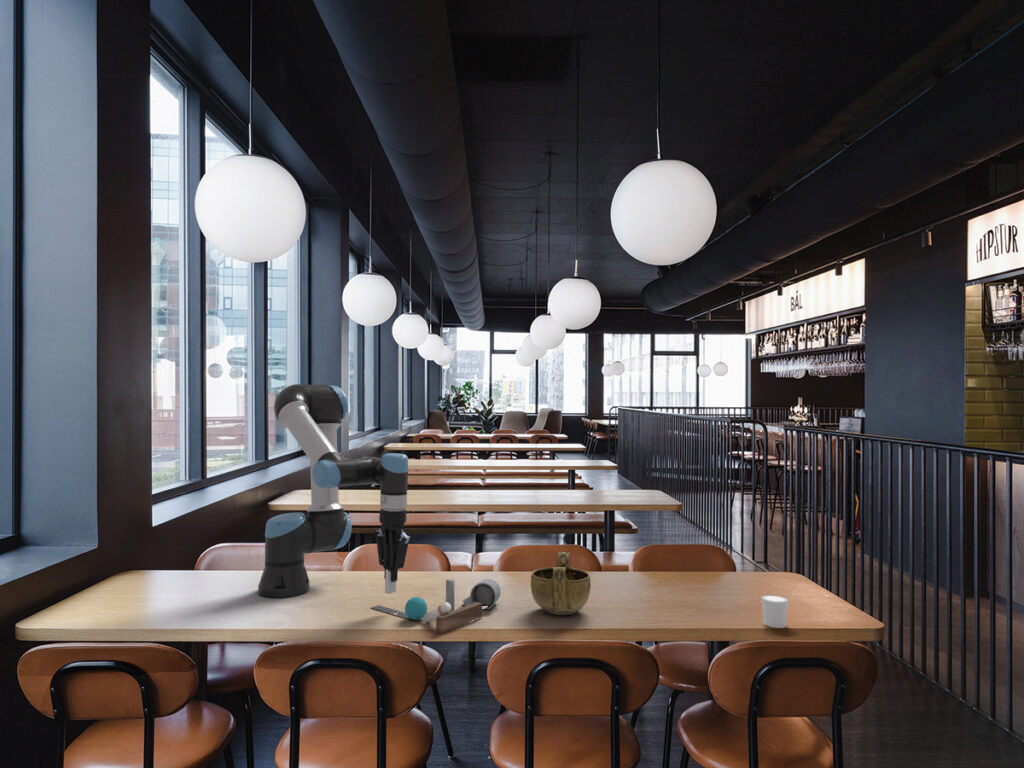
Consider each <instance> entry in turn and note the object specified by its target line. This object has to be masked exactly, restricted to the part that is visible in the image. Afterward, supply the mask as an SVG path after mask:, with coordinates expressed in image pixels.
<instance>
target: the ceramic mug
mask: <svg viewBox="0 0 1024 768" xmlns="http://www.w3.org/2000/svg"><path fill="white" fill-rule="evenodd" d="M469 594H470V595H469V596H467V597H465V598H464V599H463V600H462V602H463V605H464V606H467V605H469V604H472V603H475V602H479V603H482V606H488V607H487V608H485V609H488V610H490V609H491V608H492V607H493V606H495V604H496V603H497V602H498V601H499V599H500V598H501V597H500V596H501V587H500V584H499V583H498V582H497V581H496V580H494V579H491V578H485V579H483V580H481V581H479V582H478V583H477V584H475V585H474V586H473V587H472V589H471V591H470V593H469Z"/></svg>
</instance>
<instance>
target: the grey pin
mask: <svg viewBox="0 0 1024 768" xmlns="http://www.w3.org/2000/svg"><path fill="white" fill-rule="evenodd" d="M455 583H456V582H455V579H454V578H448V579H446V580H445V603H446V602H448V603H449V604H450V605H451V611H453V610H455V591H456V589H455V586H456V585H455ZM449 612H450V611H449ZM447 613H448V612H447Z"/></svg>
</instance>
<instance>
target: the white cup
mask: <svg viewBox="0 0 1024 768" xmlns="http://www.w3.org/2000/svg"><path fill="white" fill-rule="evenodd" d="M760 599H761V609H762V619H763V624H764V625H765V626H767V627H769V626H770V628H774V627H775V629H777V628H778V629H784V628H786V627H787V619H788V608H789V599H788V598H786V597H784V596H780V595H776V594H775V595H774V594H773V595H772V594H767V595H762V596H761V598H760Z"/></svg>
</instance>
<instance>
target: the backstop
mask: <svg viewBox="0 0 1024 768" xmlns="http://www.w3.org/2000/svg"><path fill="white" fill-rule="evenodd" d="M480 617H482V618H483V610H482V603H479V602H475V603H472V604H469V605H464V606H461V607H459V608H456V609H454V610H453V611H450V612H448V613H445V614H442V615H439V616H437V617H436V619H435V621H436V622H435V625H436V626H435V632H436V634H437V633H438V634H441V635H443V634H446V633H448V632H450V631H451V632H452V631H453V630H455V629H457V627H458V628H461V627H463V626H465V625H464V624H466V623H468V622H470V621H472V620H475V619H477V618H480ZM468 624H469V623H468ZM462 625H463V626H462ZM466 625H467V624H466ZM460 626H461V627H460Z"/></svg>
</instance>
